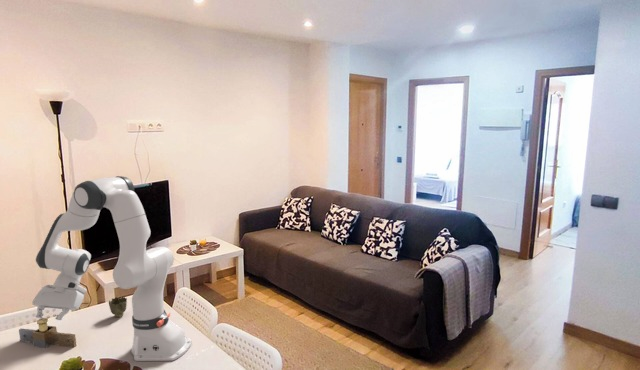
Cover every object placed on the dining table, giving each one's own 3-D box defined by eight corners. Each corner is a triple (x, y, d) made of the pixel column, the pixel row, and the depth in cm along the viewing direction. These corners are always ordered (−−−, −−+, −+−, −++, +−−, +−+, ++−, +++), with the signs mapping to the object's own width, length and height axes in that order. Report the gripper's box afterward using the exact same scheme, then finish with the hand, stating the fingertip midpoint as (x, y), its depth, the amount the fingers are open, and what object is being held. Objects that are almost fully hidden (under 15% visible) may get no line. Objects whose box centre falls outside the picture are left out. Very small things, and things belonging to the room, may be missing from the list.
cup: (120, 321, 173) (118, 304, 172) (106, 319, 174) (104, 302, 173) (131, 313, 180) (130, 297, 179) (117, 311, 182) (116, 295, 180)
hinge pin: (52, 341, 157) (50, 318, 156) (45, 346, 154) (42, 322, 152) (45, 340, 158) (42, 317, 156) (37, 345, 154) (34, 322, 153)
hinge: (81, 342, 156) (79, 328, 155) (69, 350, 150) (68, 336, 149) (27, 336, 160) (25, 323, 160) (14, 344, 155) (13, 330, 154)
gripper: (39, 281, 164) (20, 314, 156) (81, 285, 160) (64, 318, 152) (49, 287, 169) (32, 318, 161) (90, 290, 165) (74, 323, 157)
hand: (48, 318), depth 156 cm, fingers open, 8 cm apart
